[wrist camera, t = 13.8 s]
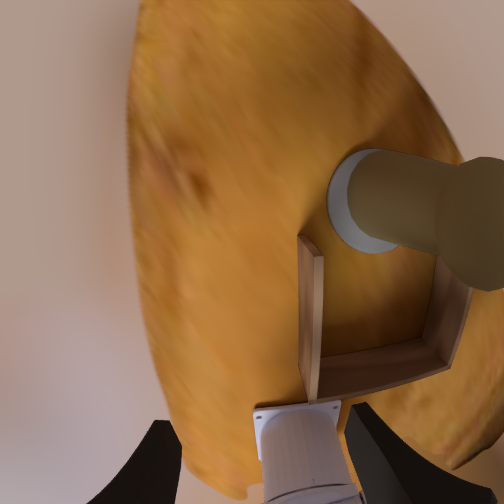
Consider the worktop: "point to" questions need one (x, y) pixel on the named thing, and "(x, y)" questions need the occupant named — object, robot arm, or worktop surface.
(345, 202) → the coaster
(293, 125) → the worktop surface
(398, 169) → the pepper mill
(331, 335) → the worktop surface
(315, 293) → the open wooden enclosure
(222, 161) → the worktop surface
